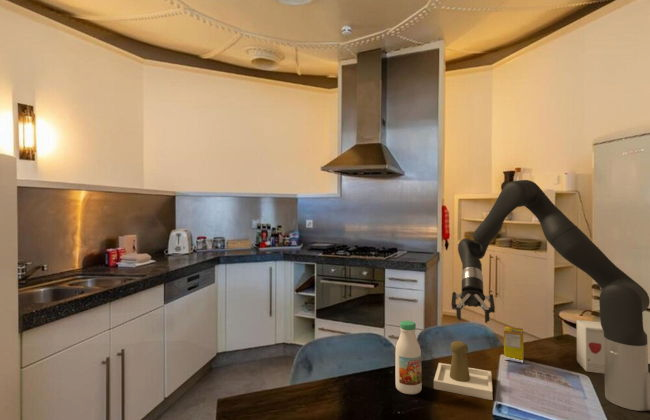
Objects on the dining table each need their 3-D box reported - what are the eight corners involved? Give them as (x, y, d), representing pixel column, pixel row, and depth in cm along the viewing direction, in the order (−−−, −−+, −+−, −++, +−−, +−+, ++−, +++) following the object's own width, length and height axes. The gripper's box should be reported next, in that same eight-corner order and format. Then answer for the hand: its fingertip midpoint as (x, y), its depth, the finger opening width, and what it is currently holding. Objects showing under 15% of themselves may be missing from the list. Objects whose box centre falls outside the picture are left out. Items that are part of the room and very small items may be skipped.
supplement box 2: (585, 371, 114) (584, 326, 114) (576, 361, 122) (575, 319, 122) (619, 376, 111) (618, 329, 111) (607, 364, 119) (606, 321, 119)
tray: (491, 378, 109) (491, 371, 109) (492, 400, 96) (492, 391, 97) (439, 369, 116) (438, 362, 116) (433, 388, 103) (433, 380, 103)
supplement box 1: (523, 358, 125) (523, 328, 125) (523, 364, 120) (522, 333, 120) (505, 354, 128) (505, 325, 128) (504, 360, 123) (503, 330, 123)
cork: (466, 383, 104) (466, 347, 104) (446, 377, 108) (446, 343, 108) (472, 376, 109) (471, 341, 109) (453, 371, 113) (452, 337, 113)
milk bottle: (390, 389, 103) (390, 322, 104) (403, 380, 109) (403, 317, 109) (413, 398, 98) (413, 328, 98) (426, 388, 104) (425, 322, 104)
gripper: (451, 275, 130) (450, 312, 119) (493, 276, 124) (495, 316, 114) (453, 286, 135) (451, 323, 124) (493, 288, 129) (495, 328, 118)
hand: (472, 320), depth 119 cm, fingers open, 8 cm apart
